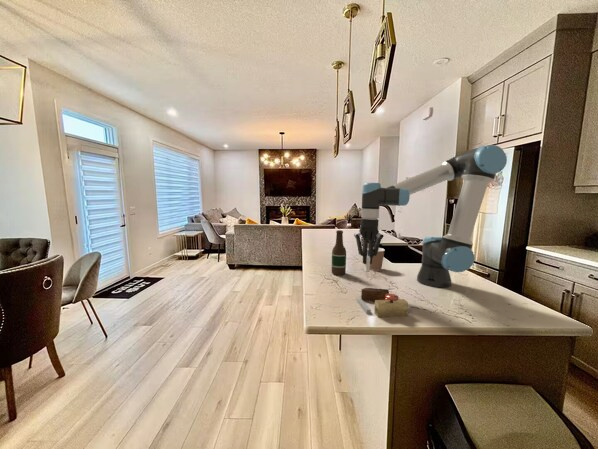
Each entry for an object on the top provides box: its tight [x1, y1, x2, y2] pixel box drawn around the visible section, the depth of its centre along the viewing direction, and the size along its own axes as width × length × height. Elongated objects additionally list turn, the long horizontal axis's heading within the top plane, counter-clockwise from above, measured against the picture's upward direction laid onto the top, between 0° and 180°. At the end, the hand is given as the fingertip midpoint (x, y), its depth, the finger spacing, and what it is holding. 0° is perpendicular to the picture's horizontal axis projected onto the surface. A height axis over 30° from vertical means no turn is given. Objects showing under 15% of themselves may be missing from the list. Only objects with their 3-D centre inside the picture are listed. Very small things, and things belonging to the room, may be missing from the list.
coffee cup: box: [367, 246, 386, 272], centre depth 147 cm, size 10×10×12 cm
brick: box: [360, 287, 390, 303], centre depth 103 cm, size 11×4×5 cm, turn 75°
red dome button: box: [374, 293, 409, 318], centre depth 89 cm, size 11×4×7 cm, turn 96°
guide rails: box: [356, 297, 412, 315], centre depth 96 cm, size 17×10×2 cm, turn 96°
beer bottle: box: [331, 229, 347, 276], centre depth 137 cm, size 8×8×24 cm
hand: (366, 270), depth 112 cm, fingers closed
